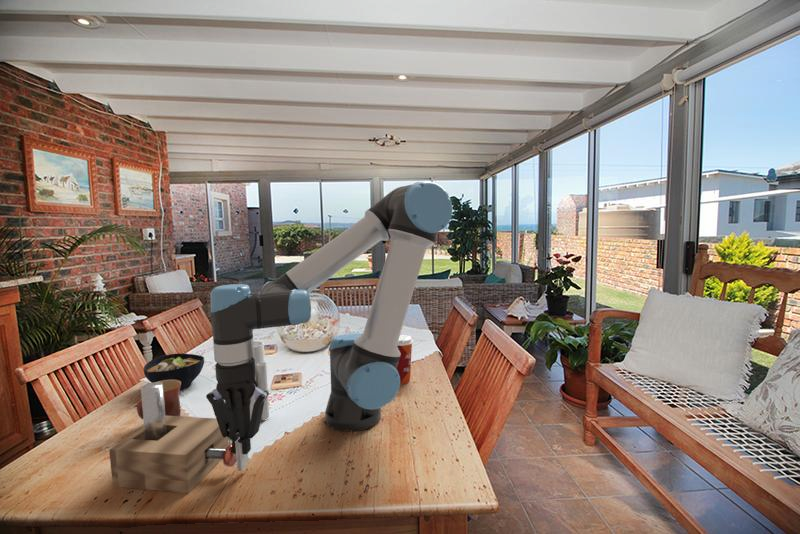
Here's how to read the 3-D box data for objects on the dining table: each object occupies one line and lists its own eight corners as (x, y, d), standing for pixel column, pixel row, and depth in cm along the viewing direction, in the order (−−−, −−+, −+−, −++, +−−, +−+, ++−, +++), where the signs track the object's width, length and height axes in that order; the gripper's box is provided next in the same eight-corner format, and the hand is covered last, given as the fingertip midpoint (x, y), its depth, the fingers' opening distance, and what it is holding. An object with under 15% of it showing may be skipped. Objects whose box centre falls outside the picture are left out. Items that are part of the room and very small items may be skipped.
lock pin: (239, 458, 84) (238, 439, 83) (228, 471, 79) (227, 451, 79) (183, 454, 85) (181, 435, 85) (169, 466, 81) (167, 447, 80)
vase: (242, 410, 109) (238, 342, 107) (268, 406, 112) (265, 339, 109) (239, 429, 99) (235, 355, 97) (269, 424, 101) (265, 351, 99)
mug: (164, 413, 108) (161, 378, 107) (191, 416, 106) (188, 380, 105) (126, 436, 96) (122, 397, 95) (155, 439, 94) (152, 400, 93)
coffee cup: (413, 385, 125) (413, 341, 123) (388, 385, 125) (387, 341, 123) (412, 375, 133) (412, 334, 132) (389, 375, 133) (388, 334, 132)
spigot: (171, 442, 85) (167, 382, 84) (158, 453, 81) (153, 390, 80) (155, 441, 86) (150, 381, 84) (141, 452, 82) (136, 389, 80)
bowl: (190, 373, 137) (188, 346, 136) (215, 384, 127) (213, 355, 126) (136, 389, 124) (133, 360, 123) (159, 403, 114) (157, 371, 113)
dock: (229, 451, 89) (227, 419, 88) (188, 493, 75) (186, 455, 74) (163, 446, 91) (161, 415, 90) (112, 486, 77) (109, 449, 77)
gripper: (272, 354, 81) (278, 457, 84) (217, 353, 83) (225, 455, 85) (254, 366, 74) (262, 480, 77) (195, 365, 76) (204, 476, 78)
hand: (242, 467), depth 81 cm, fingers closed
